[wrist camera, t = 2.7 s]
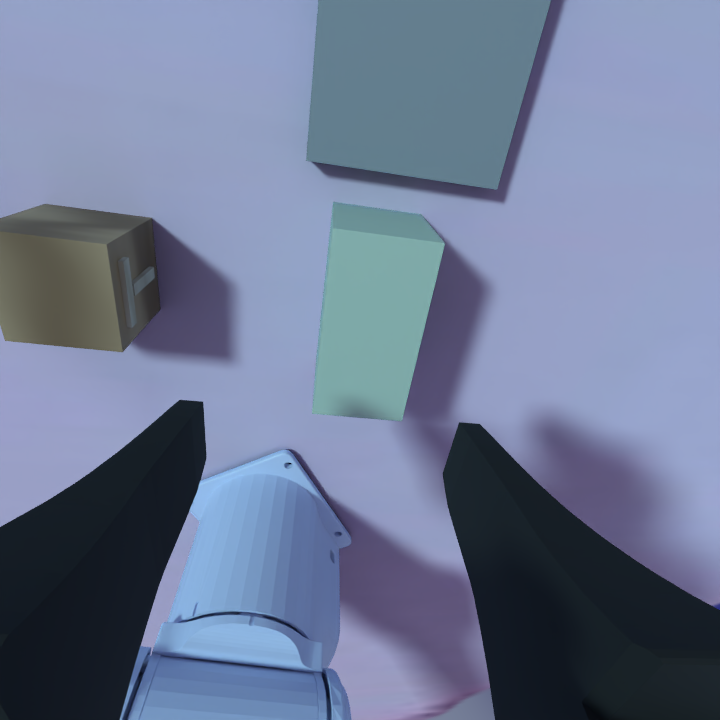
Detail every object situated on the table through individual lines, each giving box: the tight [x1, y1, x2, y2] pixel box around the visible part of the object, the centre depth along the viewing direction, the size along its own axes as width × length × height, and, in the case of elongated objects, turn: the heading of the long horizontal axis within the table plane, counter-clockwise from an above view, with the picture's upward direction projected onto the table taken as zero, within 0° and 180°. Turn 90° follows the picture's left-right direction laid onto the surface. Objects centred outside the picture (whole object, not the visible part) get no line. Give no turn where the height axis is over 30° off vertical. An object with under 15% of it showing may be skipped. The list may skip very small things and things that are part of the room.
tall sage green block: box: [312, 202, 445, 421], centre depth 19 cm, size 8×4×5 cm, turn 172°
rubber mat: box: [306, 0, 551, 190], centre depth 15 cm, size 11×8×1 cm
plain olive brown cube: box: [0, 204, 160, 352], centre depth 18 cm, size 5×4×4 cm
